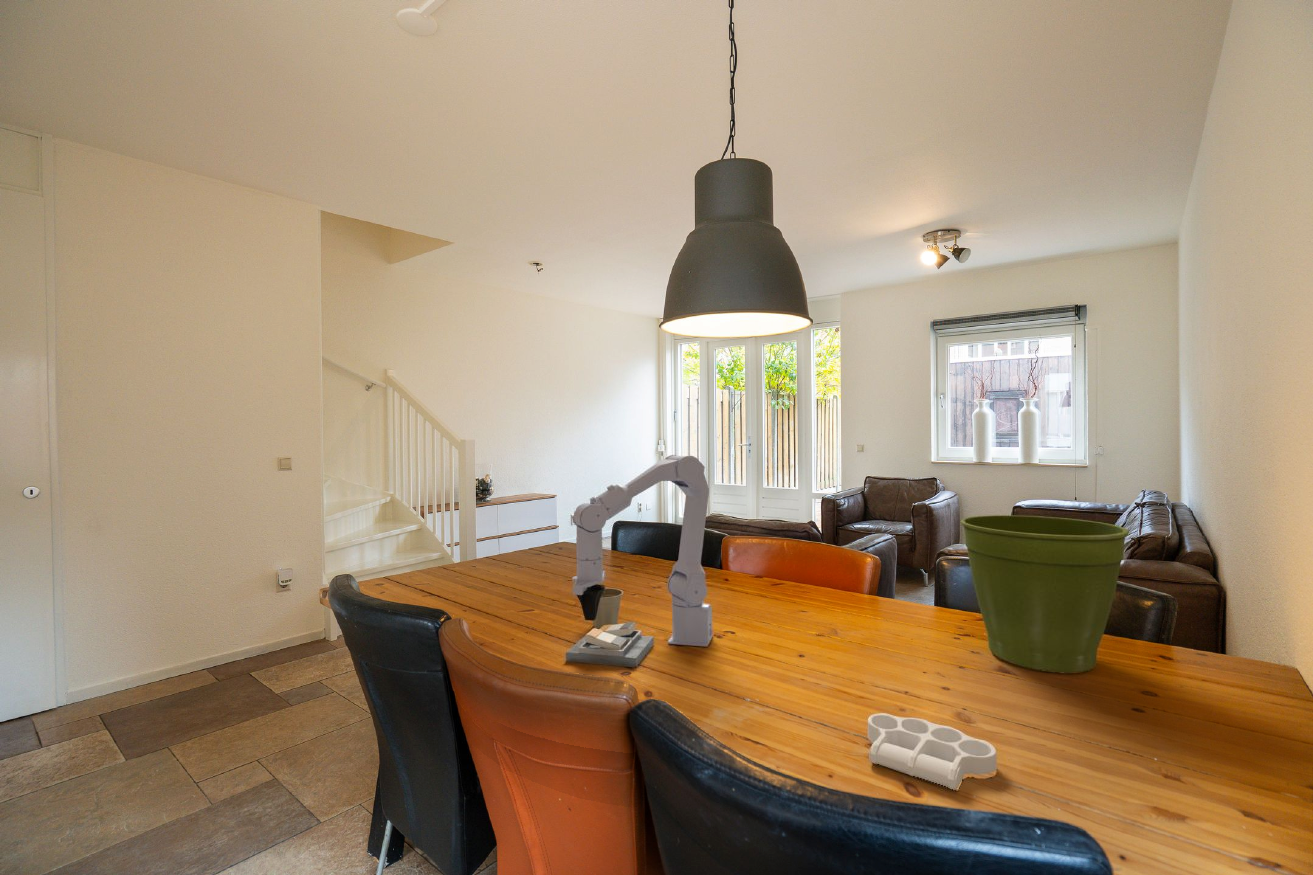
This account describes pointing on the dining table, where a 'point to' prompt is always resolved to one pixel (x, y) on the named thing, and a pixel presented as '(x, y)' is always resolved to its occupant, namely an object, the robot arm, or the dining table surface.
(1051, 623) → the plant pot
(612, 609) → the flower pot
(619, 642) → the breaker
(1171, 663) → the dining table surface
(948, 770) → the knuckle duster
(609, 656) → the panel
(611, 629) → the block
